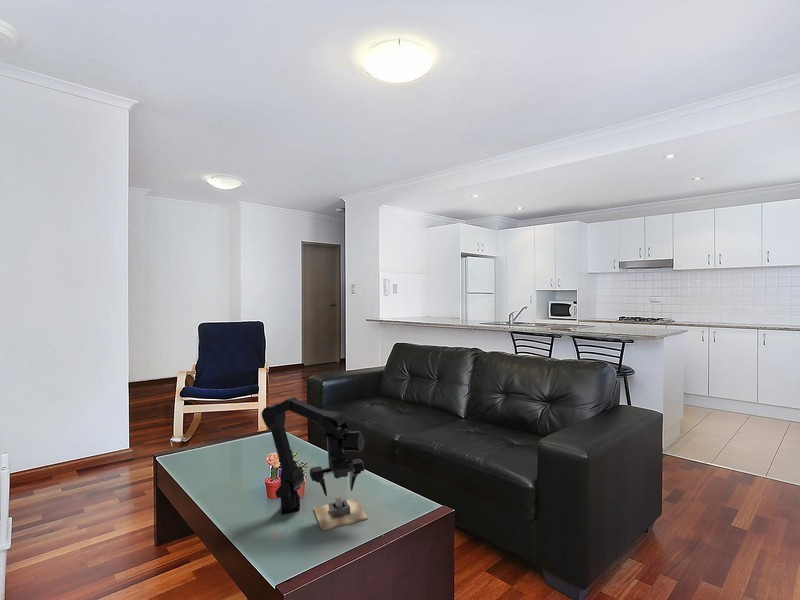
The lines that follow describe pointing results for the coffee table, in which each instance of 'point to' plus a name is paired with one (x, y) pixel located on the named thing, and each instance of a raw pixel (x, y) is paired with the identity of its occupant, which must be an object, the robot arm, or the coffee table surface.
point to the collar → (339, 509)
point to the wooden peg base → (354, 516)
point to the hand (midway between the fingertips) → (338, 493)
